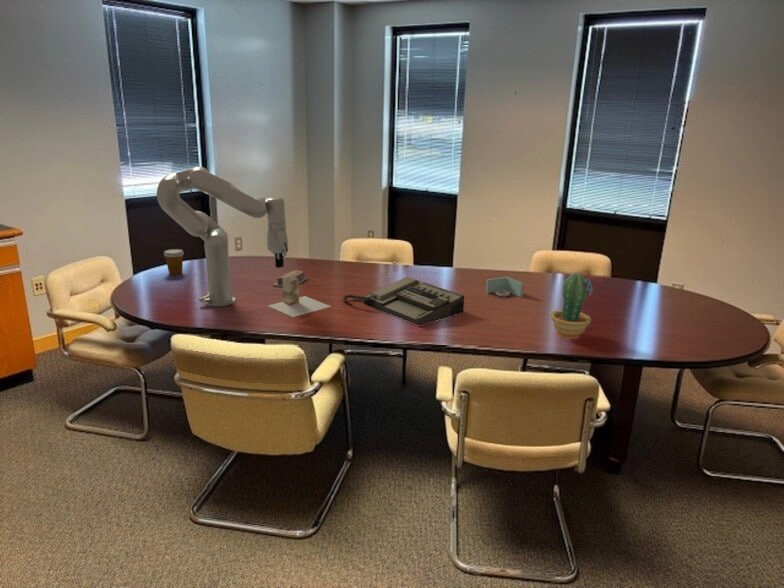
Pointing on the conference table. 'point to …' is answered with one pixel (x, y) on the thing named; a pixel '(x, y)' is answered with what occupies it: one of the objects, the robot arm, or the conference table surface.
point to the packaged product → (293, 273)
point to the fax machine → (414, 301)
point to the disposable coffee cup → (174, 261)
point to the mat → (299, 306)
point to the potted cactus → (572, 308)
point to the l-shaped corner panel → (504, 286)
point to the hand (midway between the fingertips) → (279, 266)
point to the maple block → (290, 290)
